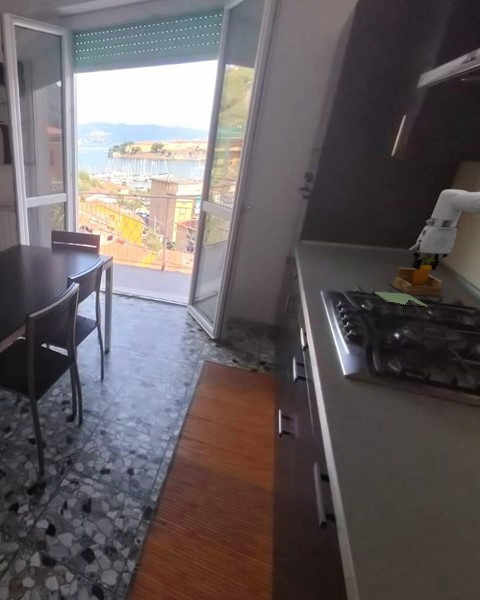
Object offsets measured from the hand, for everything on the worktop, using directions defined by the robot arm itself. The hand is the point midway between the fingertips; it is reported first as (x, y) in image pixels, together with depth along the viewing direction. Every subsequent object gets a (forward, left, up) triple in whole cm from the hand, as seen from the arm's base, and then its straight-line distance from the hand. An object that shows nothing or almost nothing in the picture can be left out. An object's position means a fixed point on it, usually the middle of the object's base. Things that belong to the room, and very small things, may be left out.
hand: (423, 268), depth 143 cm
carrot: (0, 0, -10) cm, 10 cm away
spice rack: (0, 0, -10) cm, 10 cm away
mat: (-12, +12, -10) cm, 20 cm away
